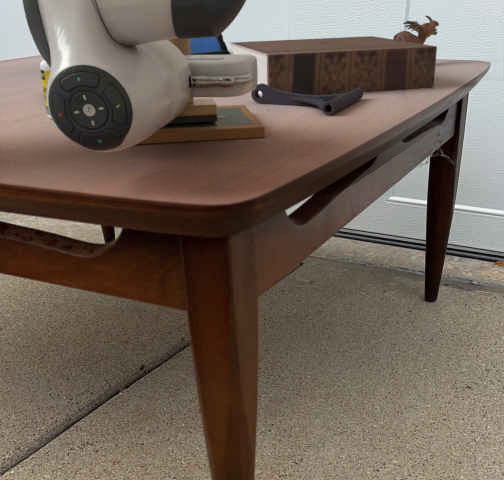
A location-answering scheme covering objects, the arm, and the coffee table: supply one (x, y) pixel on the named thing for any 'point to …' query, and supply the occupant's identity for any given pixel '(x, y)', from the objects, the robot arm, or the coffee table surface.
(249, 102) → the coffee table surface
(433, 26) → the dragon figurine
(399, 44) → the book
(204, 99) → the wooden stamp
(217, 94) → the robot arm
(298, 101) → the bracket
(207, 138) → the board
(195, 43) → the game console
